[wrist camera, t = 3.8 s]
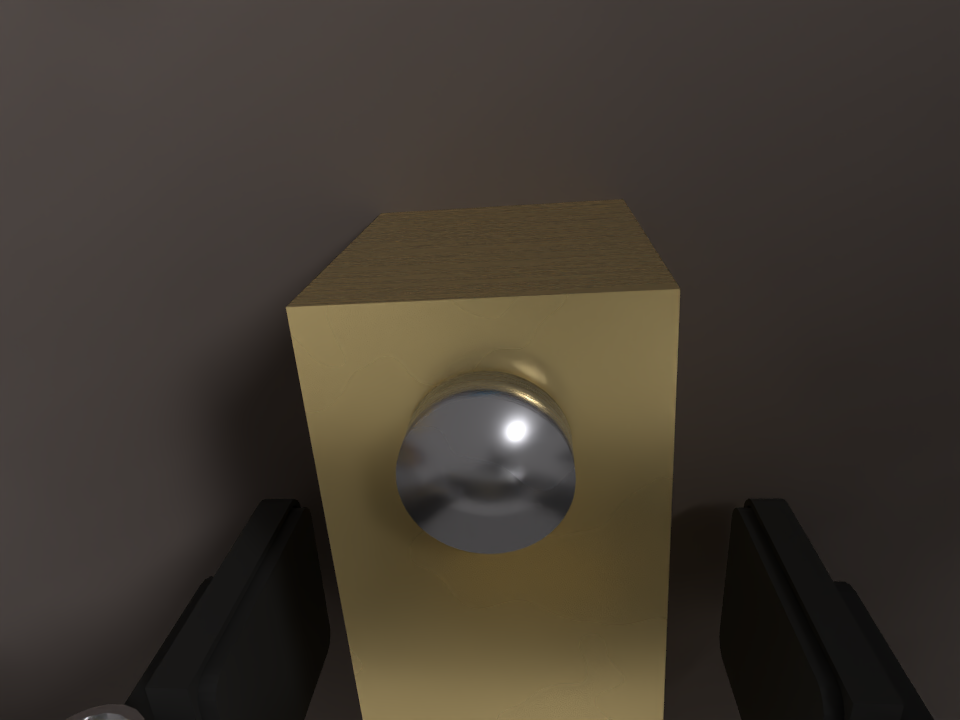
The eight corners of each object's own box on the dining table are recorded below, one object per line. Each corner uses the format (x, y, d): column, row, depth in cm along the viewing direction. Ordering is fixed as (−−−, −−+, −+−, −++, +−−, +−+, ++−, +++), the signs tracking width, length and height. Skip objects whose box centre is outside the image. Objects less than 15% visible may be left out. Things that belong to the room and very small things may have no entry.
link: (383, 210, 11) (262, 329, 6) (621, 196, 10) (694, 311, 6) (453, 770, 15) (415, 1087, 10) (618, 773, 15) (656, 1102, 10)
